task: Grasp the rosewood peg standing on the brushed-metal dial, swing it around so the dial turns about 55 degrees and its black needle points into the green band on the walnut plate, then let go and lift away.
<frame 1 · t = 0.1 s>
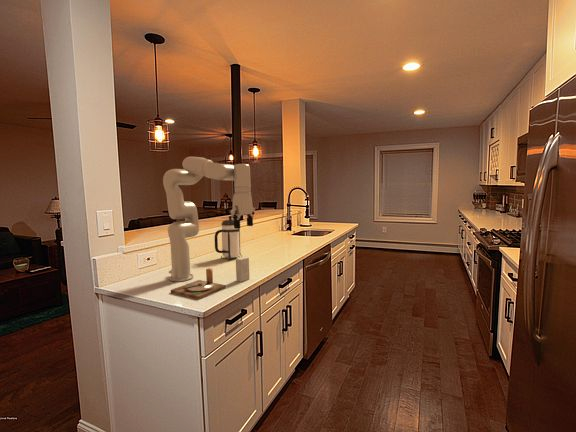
hand: (243, 227, 148), 31 cm above the worktop, tool pointing down, fingers open, 9 cm apart
dial plate: (198, 290, 153), on the worktop
dial: (198, 279, 152), point 6 cm above the worktop, hinge at -55.0°
coffee press: (230, 258, 221), on the worktop
skincare box: (242, 280, 170), on the worktop
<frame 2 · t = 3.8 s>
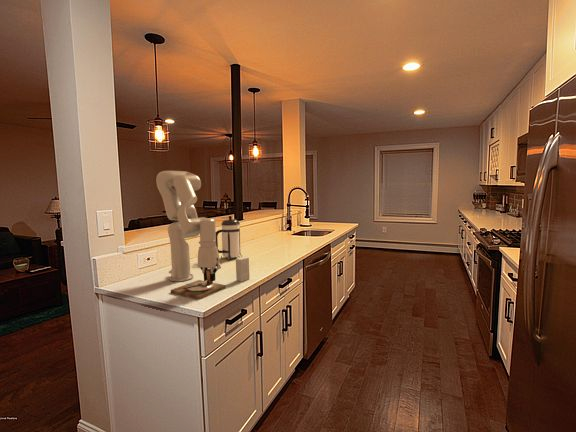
hand: (209, 280, 156), 4 cm above the worktop, tool pointing down, fingers closed on dial, 3 cm apart
dial: (198, 279, 152), point 6 cm above the worktop, hinge at -55.0°, touching gripper
everything else where it was.
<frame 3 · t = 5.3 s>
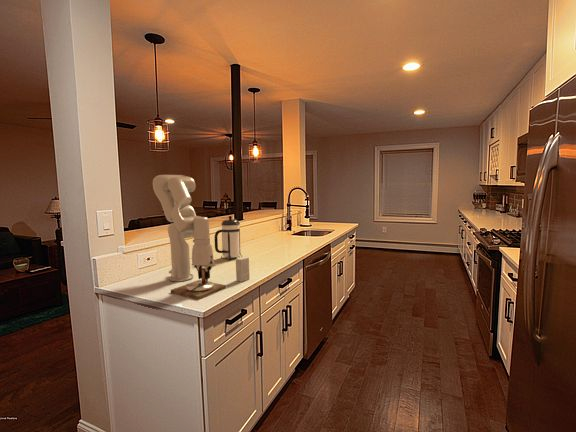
hand: (204, 278, 157), 5 cm above the worktop, tool pointing down, fingers closed on dial, 3 cm apart
dial: (199, 279, 151), point 6 cm above the worktop, hinge at -15.5°, touching gripper
everything else where it was.
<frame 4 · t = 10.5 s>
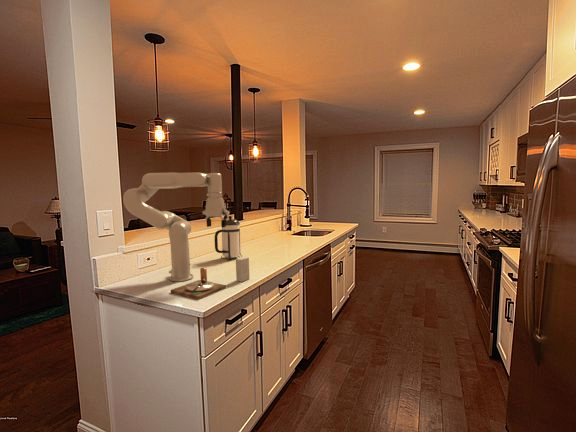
hand: (216, 226, 173), 28 cm above the worktop, tool pointing down, fingers open, 9 cm apart
dial: (199, 279, 151), point 6 cm above the worktop, hinge at -9.9°
everything else where it was.
at the end: dial at -10° (first picture: -55°); the gripper is holding nothing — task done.
